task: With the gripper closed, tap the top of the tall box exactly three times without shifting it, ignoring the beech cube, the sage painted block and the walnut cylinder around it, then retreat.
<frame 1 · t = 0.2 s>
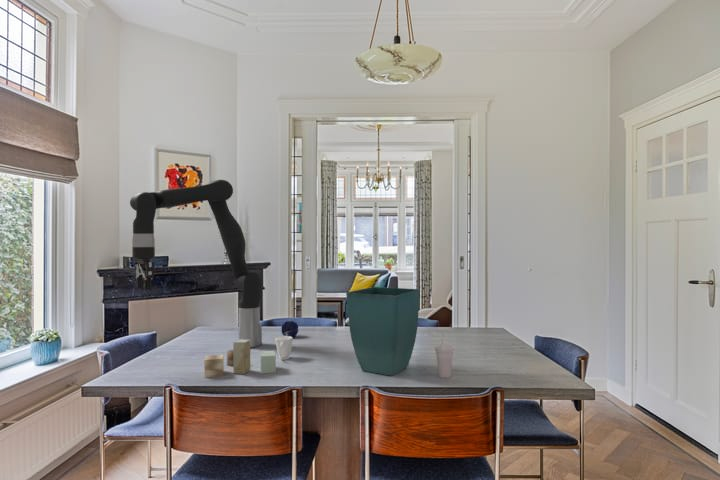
hand: (144, 289, 161), 29 cm above the table, fingers open, 8 cm apart
cup: (283, 359, 170), on the table
walnut cylinder: (234, 364, 164), on the table
beech cube: (214, 374, 152), on the table
flower pot: (384, 370, 154), on the table
box: (242, 372, 154), on the table
smoothie: (444, 376, 146), on the table
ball: (290, 337, 210), on the table
sage block: (267, 370, 156), on the table
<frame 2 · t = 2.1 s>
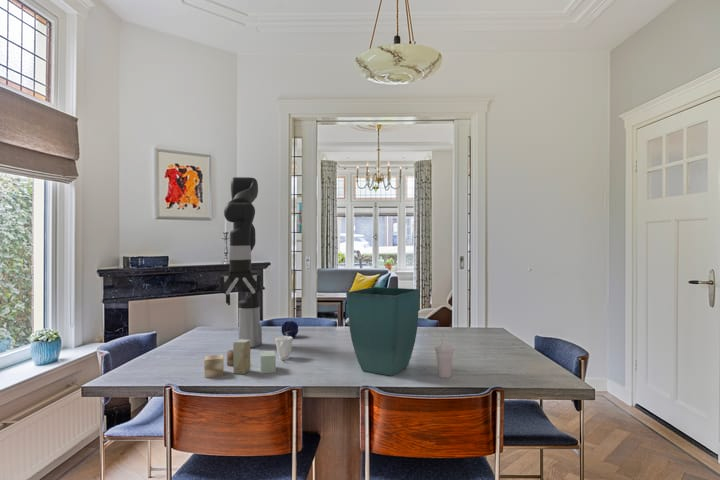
hand: (240, 304, 154), 24 cm above the table, fingers open, 7 cm apart
nothing on the table moved.
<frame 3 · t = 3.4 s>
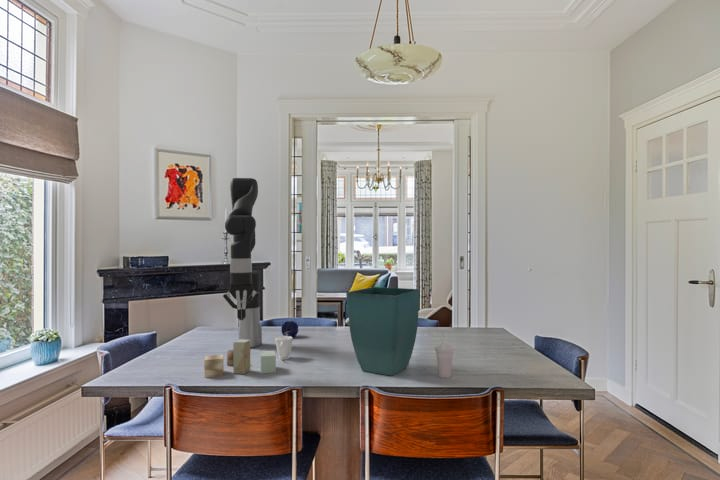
hand: (241, 319, 154), 19 cm above the table, fingers closed
nothing on the table moved.
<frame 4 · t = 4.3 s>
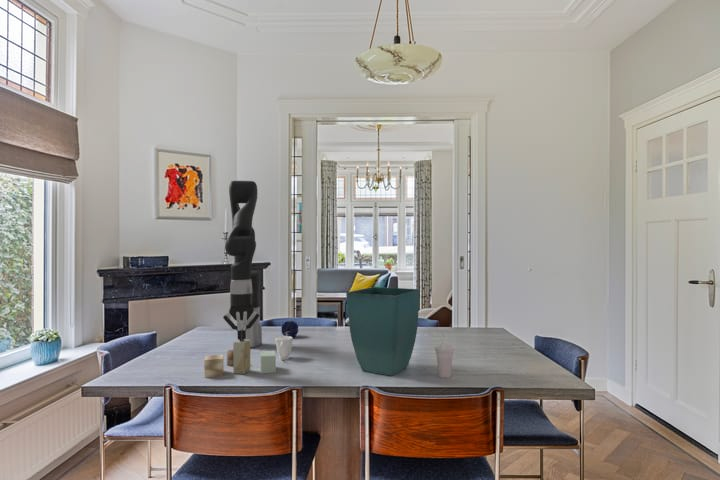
hand: (241, 340, 154), 11 cm above the table, fingers closed
box: (242, 372, 154), on the table, touching gripper
everything else where it was.
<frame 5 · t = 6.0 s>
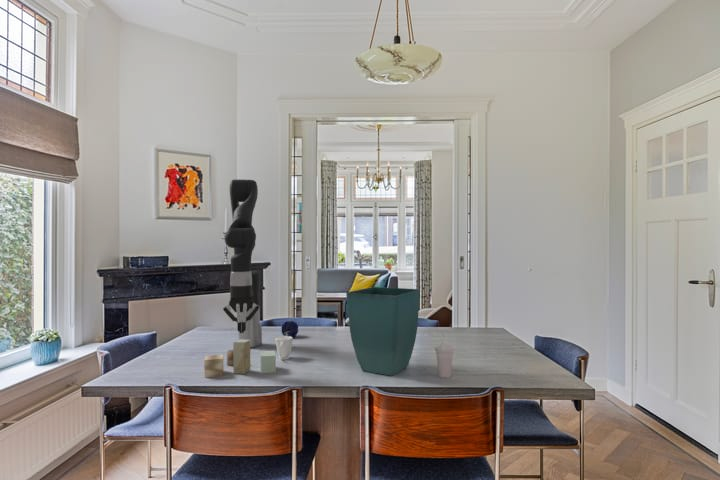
hand: (241, 332, 154), 14 cm above the table, fingers closed
box: (242, 372, 154), on the table
everything else where it was.
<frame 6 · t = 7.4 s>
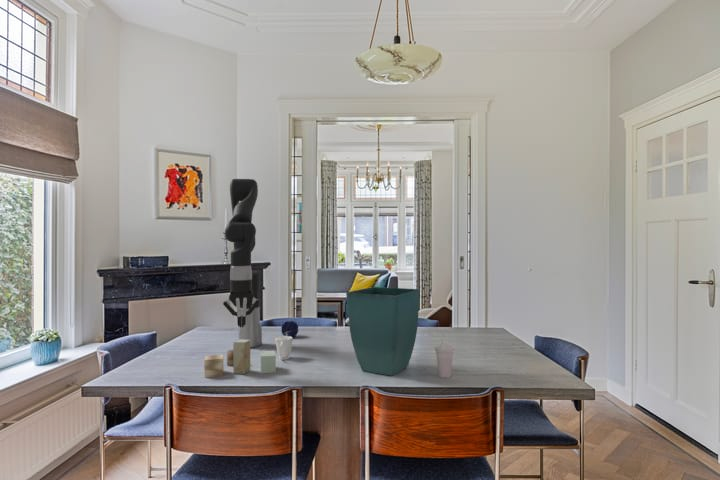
hand: (241, 326, 154), 16 cm above the table, fingers closed
nothing on the table moved.
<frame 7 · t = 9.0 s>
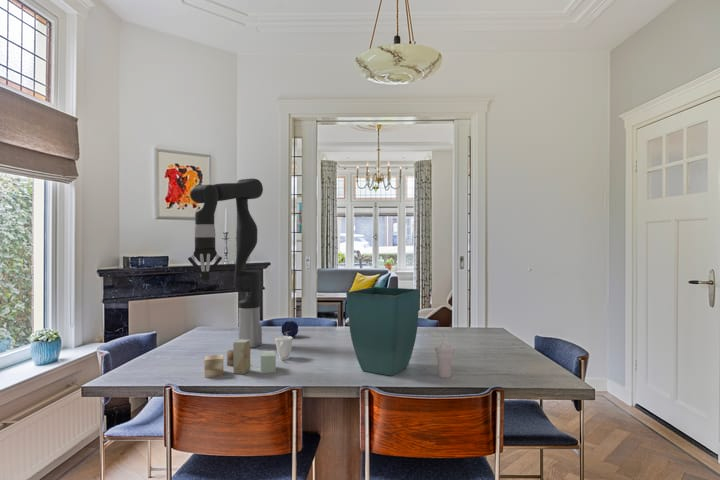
hand: (205, 281, 167), 31 cm above the table, fingers closed
nothing on the table moved.
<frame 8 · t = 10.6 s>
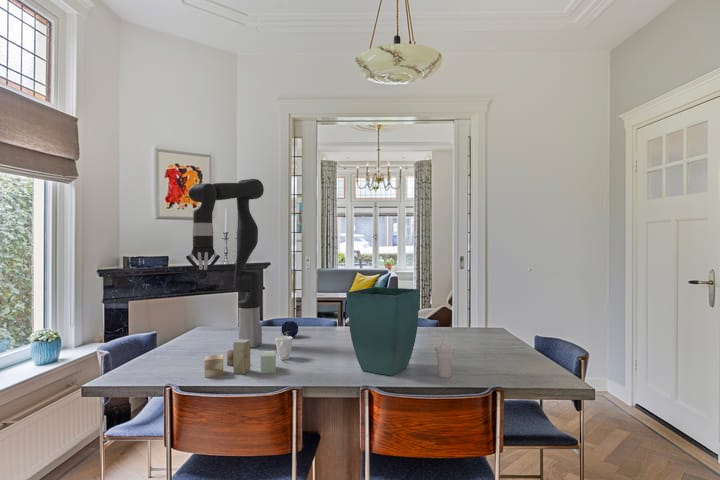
hand: (203, 279, 168), 32 cm above the table, fingers closed
nothing on the table moved.
at the end: box moved 0.2 cm from its start; box tilted 0°; beech cube moved 0.1 cm from its start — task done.
